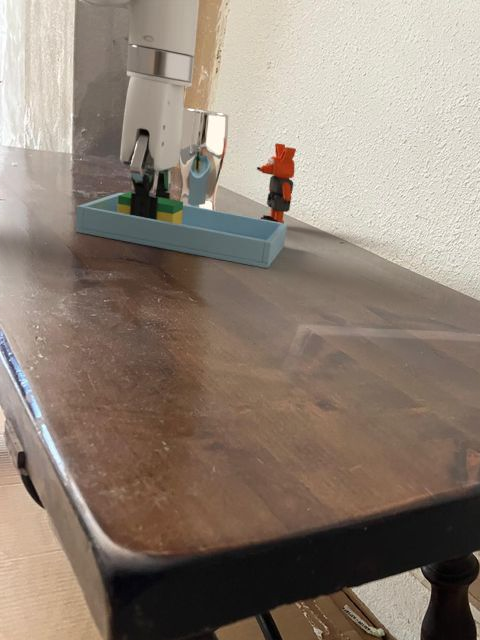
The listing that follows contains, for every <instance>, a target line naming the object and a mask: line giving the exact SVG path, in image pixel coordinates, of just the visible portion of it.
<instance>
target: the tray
mask: <svg viewBox="0 0 480 640" xmlns="http://www.w3.org/2000/svg"><path fill="white" fill-rule="evenodd" d="M125 193H126V192H121V191H120V192H117V193H114V194H111V195H108V196H105V197H101V198H98V199H95V200H93V201H89V202H86V203H83V204H79V205H77V206H76V220H75V221H76V223H75V225H76V227H75V232H76V233H79V234H83V235H84V234H85V235H89V236H94V237H100V238H106V239H112V240H116V241H121V242H127V243H133V244H137V245H143V246H147V247H152V248H158V249H163V250H169V251H174V252H179V253H183V254H189V255H194V256H199V257H206V258H211V259H214V260H215V259H216V260H222V261H226V262H231V263H237V264H243V265H247V266H252V267H257V268H258V267H259V268H263V269H269V267H270V266H271V264H272V263H273V261H275V259H276V258H277V257H278V255H279V254H280V252H281V251H282V250H283V248H284V247H285V243H286V242H285V241H286V237H287V230H288V224H287V223H285V222H284V223H279V222H274V221H268V220H263V219H261V218H257V217H252V216H246V215H241V214H236V213H231V212H226V211H220V210H217V209H216V210H210V209H205V208H200V207H195V206H189V205H184V204H183V210H182V221H181V224H175V223H170V222H165V221H159V220H154V219H149V218H144V217H138V216H133V215H128V214H123V213H117V212H118V196H119V195H122V194H125Z"/></svg>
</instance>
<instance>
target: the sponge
mask: <svg viewBox="0 0 480 640" xmlns="http://www.w3.org/2000/svg"><path fill="white" fill-rule="evenodd" d="M124 193H125V194H122V195H119V196H118V212H117V213H123V214H128V215H130V206H131V191H128V192H124ZM182 210H183V202H182V201H179V200H176V199H171V198H170V199H166V198H161V197H158V207H157V220H159V221H165V222H170V223H175V224H181V221H182Z"/></svg>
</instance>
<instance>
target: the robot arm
mask: <svg viewBox="0 0 480 640" xmlns="http://www.w3.org/2000/svg"><path fill="white" fill-rule="evenodd" d="M78 1H79V2H80V3H83V4H85V5H87V6H90V7H95V8H96V7H97V8H114V9H124V10H125V9H127V10H129V11H130V12H129V26H128V27H129V28H128V29H129V30H128V46H127V47H128V48H127V62H126V63H127V64H126V76H128V77H130V78H129V82H128V87H127V91H126V98H125V105H124V106H125V107H124V113H123V121H122V122H123V123H122V132H121V140H120V141H121V142H120V153H119V154H120V155H119V161H120V163H121V164H122V165H123V166H124V167H129V173H130V175H131V187H130V192H131V206H130V215H133V216H138V217H144V218H149V219H154V220H157V207H158V197H161V198H166V199H171V193H170V192H171V187H172V173H173V172H172V169H173V168H175V167H176V166H177V165H178V164H179V157H180V150H181V141H182V126H183V108H184V105H185V95H184V94H185V87H188V88H192V86H193V75H194V64H195V52H196V40H197V31H198V30H197V29H198V19H199V10H200V9H199V8H200V0H78ZM146 165H147V167H146Z"/></svg>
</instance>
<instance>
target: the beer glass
mask: <svg viewBox="0 0 480 640" xmlns="http://www.w3.org/2000/svg"><path fill="white" fill-rule="evenodd" d="M229 128H230V115H228V114H226V113H221V112H216V111H211V110H205V109H201V108H193V107H183V126H182V141H181V150H180V157H179V162H178V164H179V177H180V192H179V199H178V201H182V202H183V204H184V205H189V206H195V207H200V208H205V209H210V210H216V211H217V207H216V205H217V204H216V200H217V192H218V188H219V184H220V181H221V177H222V174H223V170H224V166H225V162H226V157H227V153H228V147H229V146H228V145H229V132H230V131H229V130H230V129H229Z"/></svg>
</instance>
